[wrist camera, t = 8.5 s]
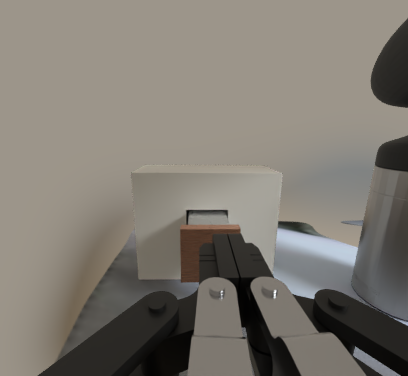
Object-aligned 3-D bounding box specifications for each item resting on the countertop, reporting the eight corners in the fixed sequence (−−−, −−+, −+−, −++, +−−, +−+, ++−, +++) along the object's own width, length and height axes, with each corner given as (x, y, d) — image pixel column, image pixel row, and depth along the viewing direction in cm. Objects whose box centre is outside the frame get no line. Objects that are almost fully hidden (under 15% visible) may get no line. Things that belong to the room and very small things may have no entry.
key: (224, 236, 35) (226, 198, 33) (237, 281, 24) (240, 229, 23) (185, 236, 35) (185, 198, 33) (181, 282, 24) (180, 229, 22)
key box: (257, 250, 40) (264, 165, 36) (272, 278, 32) (282, 173, 28) (150, 251, 39) (145, 164, 35) (138, 279, 31) (131, 172, 28)
